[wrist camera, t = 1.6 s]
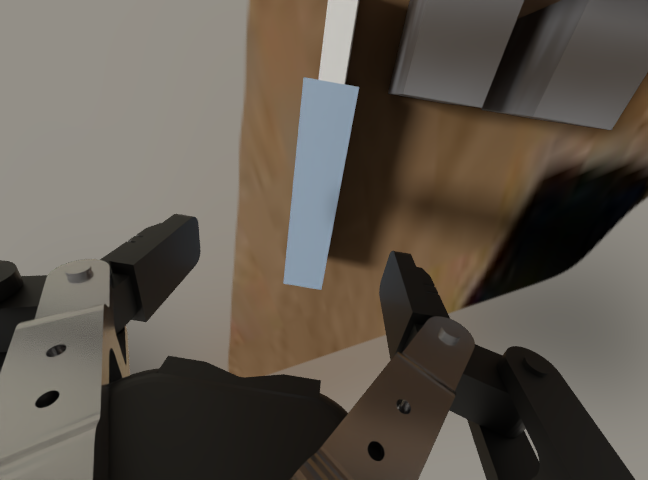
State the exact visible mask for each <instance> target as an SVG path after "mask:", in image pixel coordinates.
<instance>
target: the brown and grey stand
mask: <svg viewBox="0 0 648 480" xmlns="http://www.w3.org/2000/svg"><path fill="white" fill-rule="evenodd" d="M516 20H517V21H516ZM515 22H516V23H515ZM514 25H515V26H514ZM513 27H514V28H513ZM512 30H513V31H512ZM510 35H511V36H510ZM509 38H510V39H509ZM508 40H509V41H508ZM507 43H508V44H507ZM506 45H507V46H506ZM505 48H506V49H505ZM504 50H505V51H504ZM503 53H504V54H503ZM502 55H503V56H502ZM501 58H502V59H501ZM499 63H500V64H499ZM497 68H498V69H497ZM496 71H497V72H496ZM647 72H648V0H410V2H409V6H408V10H407V15H406V19H405V23H404V27H403V32H402V36H401V40H400V44H399V49H398V53H397V57H396V61H395V66H394V70H393V74H392V78H391V83H390V87H389V91H388V94H394V95H399V96H405V97H411V98H417V99H422V100H428V101H434V102H440V103H446V104H454V105H463V106H471V107H480V108H482V110H486V111H492V112H497V113H503V114H509V115H515V116H520V117H526V118H532V119H538V120H545V121H551V122H558V123H565V124H572V125H579V126H586V127H593V128H600V129H607V130H612V128H613V127H614V125H615V123H616V122H617V120H618V119H619V117H620V115H621V114H622V112H623V111H624V109H625V107H626V106H627V104H628V103H629V101H630V99H631V98H632V96H633V95H634V93H635V92H636V90H637V88H638V87H639V85H640V84H641V82H642V80H643V79H644V77H645V76H646V74H647ZM495 73H496V74H495ZM494 76H495V77H494ZM493 78H494V79H493ZM492 81H493V82H492ZM491 83H492V84H491ZM490 86H491V87H490ZM489 88H490V89H489ZM488 91H489V92H488ZM486 96H487V97H486ZM484 101H485V102H484ZM483 104H484V105H483ZM482 106H483V107H482Z"/></svg>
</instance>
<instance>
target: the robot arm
mask: <svg viewBox="0 0 648 480" xmlns="http://www.w3.org/2000/svg"><path fill="white" fill-rule="evenodd" d="M199 257H200V240H199V227H198V221H197V219H196V217H192V216H186V215H179V214H174V215H173V216H171V217H170V218H168V219H167V220H165V221H164V222H163V223H159V224H157V225H154V226H151V227H148V228H146V229H144V230H143V231H142V232H140V233H139V234H137V236H134V237H133V238H131V239H130V240H129V241H128V242H125V243H124V244H122V245H121V246H120V247H118V248H117V249H115V250H114V251H112V252H111V253H109V254H108V255H106V256H105V257H103V258H102V259H100V260H97V259H84V260H78V261H73V262H70V263H66V264H64V265H61V266H60V267H58V268H56V269H54V270H53V271H51V272H50V273H49V274H48V275H47V276H46V275H45V276H21V275H20V273H19V271H18V269H17V267H16V265H15V264H13V263H12V262H9V261H1V260H0V480H418V479H419V476H420V474H421V472H422V469H423V467H424V465H425V463H426V461H427V459H428V456H429V454H430V452H431V450H432V447H433V445H434V443H435V441H436V438H437V436H438V434H439V432H440V429H441V427H442V425H443V423H444V420H445V418H446V416H447V414H448V412H449V410H450V411H452V412H454V413H456V414H458V415H460V416H462V417H464V418H466V419H467V420H468V423H469V426H470V429H471V432H472V436H473V439H474V442H475V445H476V448H477V451H478V454H479V457H480V461H481V464H482V467H483V470H484V473H485V476H486V479H487V480H635V479H634V477H633V476H632V474H631V473H630V471H629V470H628V469H627V467H626V466H625V464H624V463H623V462H622V460H621V459H620V457H619V456H618V455H617V453H616V452H615V450H614V449H613V447H612V446H611V445H610V443H609V442H608V441H607V439H606V438H605V436H604V435H603V434H602V432H601V431H600V429H599V428H598V427H597V425H596V424H595V422H594V421H593V419H592V418H591V417H590V415H589V414H588V412H587V411H586V410H585V408H584V407H583V405H582V404H581V402H580V401H579V400H578V398H577V397H576V395H575V394H574V393H573V391H572V390H571V388H570V387H569V386H568V384H567V383H566V381H565V380H564V378H563V377H562V376H561V374H560V373H559V372H558V370H557V369H556V368H555V367H554V366H553V365H552V364H551V363H550V362H549V361H547V360H546V359H545V358H543V357H542V356H540V355H539V354H537V353H535V352H533V351H531V350H529V349H526V348H523V347H517V346H515V347H514V346H513V347H510V348H508V349H507V350H506V352H505V353H504V355H503V356H502V355H500V354H497V353H495V352H492V351H490V350H488V349H485V348H482V347H480V346H478V345H476V344H475V342H474V339H473V337H472V335H471V334H470V333H469V331H468V330H467V329H466V328H465V327H463V326H462V325H461V324H459V323H457V322H456V321H454V320H452V319H450V318H449V315H448V313H447V311H446V309H445V307H444V305H443V303H442V300H441V298H440V296H439V295H438V292H437V290H436V288H435V287H434V283H433V281H432V279H431V277H430V276H429V275H428V274H427V273H426V272H425V271H424V270H423V269H422V268H419V267H416V265H415V263H414V260H413V258H412V255H411V254H408V253H402V252H396V251H392V252H391V253H390V255H389V258H388V261H387V264H386V267H385V270H384V273H383V277H382V280H381V283H380V291H379V294H380V301H381V307H382V313H383V319H384V324H385V330H386V336H387V342H388V348H389V353H390V359H391V361H390V362H389V363H388V364H387V366H386V367H385V368H384V369H383V371H382V372H381V373H380V374H379V376H378V377H377V378H376V379H375V381H374V382H373V383H372V384H371V386H370V387H369V388H368V389H367V391H366V392H365V393H364V394H363V396H362V397H361V398H360V399H359V401H358V402H357V403H356V404H355V406H354V407H353V408H352V409H351V411H350V412H349V413H347V412H346V411H345V410H344V409H343V408H342V407H341V406H340V405H339V404H337V403H336V402H335V401H333V400H332V399H330V398H328V397H327V396H325V395H323V394H321V393H320V383H321V381H320V380H314V379H308V378H302V377H296V376H290V375H284V374H283V375H271V376H258V377H246V378H243V377H238V376H236V375H234V374H231V373H229V372H227V371H225V370H223V369H220V368H218V367H216V366H214V365H211V364H209V363H207V362H203V361H196V360H191V359H185V358H178V357H172V356H168V357H167V358H166V360H165V361H164V363H163V364H162V366H161V367H160V368H159V369H152V370H146V371H142V372H139V373H136V374H132V375H130V365H129V351H128V332H127V328H126V324H127V323H128V322H129V321H130V320H137V321H143V322H147V321H148V320H149V318H150V317H151V316H152V315H153V314H154V312H155V311H156V310H157V309H158V308H159V307H160V305H162V303H163V302H164V301H165V300H166V299H167V298H168V296H169V295H170V294H171V293H172V292H173V291H174V290H175V288H176V287H177V286H178V285H179V284H180V283H181V281H182V280H183V279H184V278H185V277H186V276H187V275H188V273H189V272H190V271H191V270H192V269H193V268H194V266H195V265H196V264H197V262H198V260H199ZM525 429H526V430H527V432H528V434H529V436H530V438H531V440H532V442H533V444H534V446H535V448H536V450H537V453H538V456H539V461H538V459H537V457H536V455H535V453H534V450H533V448H532V446H531V444H530V442H529V440H528V438H527V436H526V434H525V432H524V430H525Z"/></svg>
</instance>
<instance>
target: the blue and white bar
mask: <svg viewBox="0 0 648 480" xmlns="http://www.w3.org/2000/svg"><path fill="white" fill-rule="evenodd" d="M359 1H360V0H328V6H327V14H326V23H325V31H324V39H323V47H322V55H321V64H320V72H319V80H316V79H310V78H305V77H304V80H303V90H302V100H301V110H300V120H299V131H298V141H297V151H296V161H295V171H294V182H293V192H292V202H291V212H290V223H289V233H288V243H287V253H286V263H285V274H284V284H290V285H296V286H302V287H308V288H314V289H319V290H321V289H322V283H323V278H324V273H325V267H326V262H327V256H328V251H329V246H330V240H331V235H332V230H333V224H334V219H335V214H336V208H337V203H338V198H339V192H340V187H341V182H342V176H343V171H344V166H345V160H346V155H347V150H348V144H349V139H350V134H351V128H352V123H353V117H354V112H355V107H356V101H357V96H358V91H359V87H356V86H351V85H346V80H347V73H348V67H349V61H350V55H351V49H352V43H353V37H354V31H355V25H356V19H357V13H358V7H359Z"/></svg>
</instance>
